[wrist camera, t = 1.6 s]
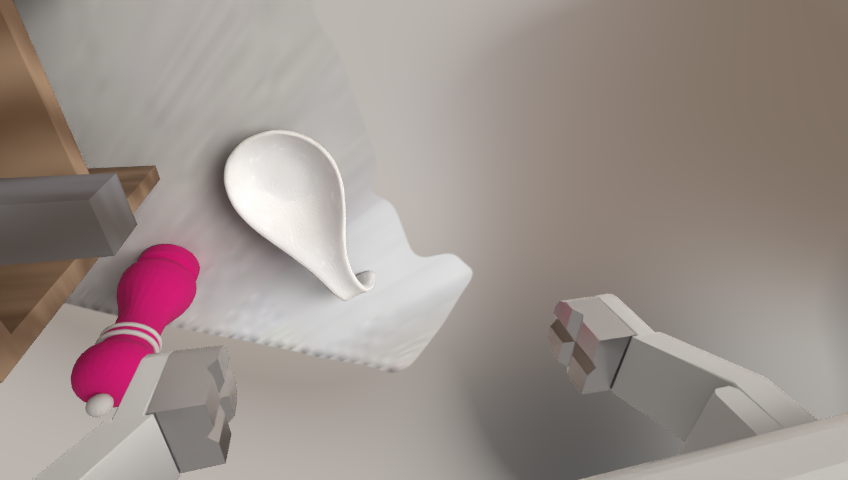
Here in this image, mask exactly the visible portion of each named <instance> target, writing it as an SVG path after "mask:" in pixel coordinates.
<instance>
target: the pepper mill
mask: <svg viewBox="0 0 848 480" xmlns="http://www.w3.org/2000/svg"><path fill="white" fill-rule="evenodd" d="M199 270H200V266H199V263H198V261H197V259H196V257H195V256H194V255H193V254H192V253H191V252H189V251H188V250H186V249H184V248H182V247H179V246H176V245H172V244H160V245H156V246H152V247H150V248H148V249H147V250H145V251H144V252H143V253H142V255H141V256H140V258H139V259H138V261H137V263H135V264H133V265H131V266H130V267H129V268H128V269H127V270H126V271H125V272H124V273H123V275H122V277H121V279H120V282H119V284H118V288H117V303H118V311H119V314H118V318H117V320H116V323H115V324H114V325H111V326H109V327H107V328H106V329H105V330H103V332H102V333H101V335H100V337H99V339H98V340H97V341H96V343H95V345H94V346H92V347H90V348H88V349H87V350H86V351H85V352H84V353H82V354H81V356H80V357H79V358H78V359H77V361H76V363H75V365H74V367H73V370H72V374H71V384H72V389H73V391H74V392H75V394H76V395H77V396H78V397H79V398H80V399H81V400H83V401H84V402H86V403H87V404H86V412H87V413H88V414H89V415H90V416H92V417H101V416H104V415H106V414H107V413H108V412H110V411H111V409H112V408H113V407H118V406H119V404H120V402H121V400H122V398H123V396H124V394H125V392H126V390H127V388H128V386H129V384H130V382H131V380H132V378H133V375H134V373H135V371H136V369H137V367H138V365H139V363H140V361H141V360H142V358H144V357H145V356H146V355H147V354H155V353H159V352H160V350H161V348H162V339H161V337H160V336H161V333H162V331H163V329H164V328H165V326H166V325H168V324H169V323H170V322H172V321H173V320H175V319H176V318H177V317H179V316H180V315H181V314H183V313H184V311H185V310H186V309H187V308H188V307H189V306H190V304H191V303H192V301H193V299H194V297H195V294H196V279H197V277H198V274H199Z"/></svg>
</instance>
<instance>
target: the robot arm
mask: <svg viewBox="0 0 848 480" xmlns="http://www.w3.org/2000/svg"><path fill="white" fill-rule="evenodd" d="M554 315H555V316H556V318H557V319H556V321H555V322H554V323H553V324H552V325H551V326H550V330H549V336H548V338H549V344H550V348H551V350H552V353H553V355H554V356H555V358H556V359H557V361H559V362H561V363H562V364H564V365H566V366H568V368H567V375H568V376H569V378H570V379H571V380H572V382H573V383H574V385H575V386H576V387H577V389H578V390H579V392H580V393H581V394H587V393H593V392H599V391H605V390H611V392H613V393H614V394H616V395H617V396H619V397H620V398H621V399H623V400H625V401H626V402H628V403H629V404H630V405H632V406H633V407H635V408H636V409H638V410H639V411H640V412H642V413H643V414H645V415H646V416H648V417H649V418H651V419H652V420H654V421H655V422H656V423H658V424H659V425H661V426H662V427H664V428H665V429H667V430H668V431H670V432H671V433H672V434H674V435H675V436H677V437H678V438H680V439H681V440H683V441H684V444H683V446H682V448H681V449H680V451H679V453H678V455H676V456H672V457H668V458H664V459H660V460H656V461H652V462H648V463H644V464H640V465H636V466H632V467H628V468H624V469H620V470H616V471H612V472H608V473H604V474H600V475H596V476H592V477H588V478H584V479H580V480H848V413H845V414H841V415H837V416H833V417H829V418H825V419H821V420H817V419H816V418H815V417H814V416H812V415H811V414H810V413H809V412H808V411H806V410H805V409H804V408H803V407H802V406H800V405H799V404H798V403H797V402H795V401H794V400H793V399H792V398H790V397H789V396H788V395H787V394H786V393H784V392H783V391H782V390H781V389H779V388H778V387H777V386H776V385H774V384H773V383H772V382H771V381H770V380H768V379H767V378H766V377H764V376H761V375H759V374H757V373H754V372H752V371H750V370H747V369H745V368H743V367H740V366H738V365H736V364H733V363H731V362H729V361H726V360H724V359H722V358H719V357H717V356H715V355H713V354H710V353H708V352H705V351H703V350H701V349H699V348H696V347H694V346H692V345H689V344H687V343H684V342H682V341H680V340H678V339H675V338H673V337H671V336H668V335H666V334H664V333H661V332H657V333H655V332H654V331H653V330H652V329H651V328H649V326H647V325H646V324H645V323H644V322H643V321H642V320H641V319H640V318H639V317H638V316H637V315H636V314H635V313H633V312H632V311H631V310H630V309H629V308H628V307H627V306H626V305H625V304H624V303H623V302H622V301H621V300H620V299H618V298H617V297H616V296H615V295H612V294H603V295H597V296H593V297H585V298H578V299H571V300H563V301H559V302H558V303H557V305H556V307H555V310H554ZM229 360H230V357H229V354H228V351H227V348H226V347H225V346H214V347H206V348H196V349H187V350H179V351H173V352H164V353H155V354H147V355H146V356H145V357H144V358H142V360H141V361H140V363H139V365H138V367H137V369H136V371H135V373H134V375H133V378H132V380H131V382H130V384H129V386H128V388H127V390H126V392H125V394H124V396H123V398H122V400H121V402H120V404H119V406H118V408H117V411H116V413H115V415H114V417H113V419H112V421H107V422H102V423H101V424H100V425H99V426H98V427H96V428H95V429H94V430H92V431H91V432H90V433H89V434H88V435H87V436H85V437H84V438H83V439H81V440H80V441H79V442H78V443H77V444H75V445H74V446H73V447H71V448H70V449H69V450H68V451H67V452H66V453H64V454H63V455H62V456H60V457H59V458H58V459H57V460H55V461H54V462H53V463H52V464H51V465H49V466H48V467H47V468H46V469H44V470H43V471H42V472H41V473H39V474H38V475H37V476H36V477H35V478H33V479H32V480H178V478H179V477H180V474H179V473H184V472H188V471H193V470H197V469H202V468H207V467H211V466H216V465H220V464H224V463H226V459H227V454H228V449H229V443H230V438H231V431H230V428H229V425H228V422H229V421H230V420H231V419H232V418H233V417H234V416H235V410H236V404H237V387H236V379H235V376H234V373H233V372H232V371H230V370H229V369H228V364H229Z"/></svg>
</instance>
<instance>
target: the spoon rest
mask: <svg viewBox="0 0 848 480" xmlns="http://www.w3.org/2000/svg"><path fill="white" fill-rule="evenodd" d="M224 185H225V189H226V193H227V196H228V198H229V200H230V202H231V204H232V206H233V207H234V209H235V210H236V212H237V213H238V214H239V216H240V217H241V218H242V219H243V220H244V221H245V222H246V223H247V224H248V225H249V226H250V227H252V228H253V229H254V230H255V231H256V232H258V233H259V234H260V235H261V236H263V237H264V238H265V239H267V240H268V241H270V242H271V243H272V244H274V245H275V246H276V247H278V248H279V249H281V250H282V251H284V252H285V253H286V254H288V255H289V256H291V257H292V258H293V259H295V260H296V261H297V262H299V263H300V264H301V265H303V266H304V267H305V268H306V269H308V270H309V271H310V272H311V273H312V274H314V275H315V276H316V277H317V278H318V279H319V280H320V281H321V282H322V283H323V284H324V285H325V286H326V287H327V288H328V289H329V290H330V291H331V292H332V293H334V294H335V295H336V296H337V297H338V298H340V299H341V300H343V301H348V300H350V299H351V298H353V297H355V296H357V295H359V294H361V293H365V292H368V291H370V290H371V289H372V287H373V286H374V283H375V273H374V272H373V271H367V272H363V273H361V274H359V275H357V276H355V275H354V273H353V271H352V269H351V266H350V264H349V260H348V257H347V251H346V207H345V194H344V187H343V182H342V178H341V175H340V172H339V169H338V167H337V165H336V163H335V161H334V159H333V158H332V156H331V155H330V154H329V153H328V151H327V150H326V149H325V148H324V147H323V146H321V145H320V144H319V143H317V142H316V141H315V140H313V139H311V138H310V137H308V136H306V135H303V134H301V133H298V132H294V131H289V130H280V129H276V130H269V131H264V132H260V133H257V134H255V135H252V136H250V137H248V138H246V139H245V140H243V141H242V142H241V143H240V144H238V145H237V146H236V147H235V149H234V150H233V151H232V152H231V154H230V155H229V157H228V159H227V161H226V164H225V167H224Z"/></svg>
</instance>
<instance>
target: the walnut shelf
mask: <svg viewBox="0 0 848 480" xmlns="http://www.w3.org/2000/svg"><path fill="white" fill-rule="evenodd" d="M103 173H117V176H118V178H119V181H120V183H121V186H122V188H123V191H124V193H125V196H126V198H127V201H128V203H129V206H130V208H131V210H132V213H134V212H135V211H136V209H137V208H138V207H139V205H140V204H141V203H142V202H143V200H144V199H145V198H146V196H147V195H148V194H149V193H150V191H151V190H152V189H153V187H154V186H155V185H156V184H157V182H158V181H159V180H160V178H159V175H158V172H157V169H156V166H137V167H115V168H92V169H87V167H86V165H85V163H84V160H83V158H82V156H81V154H80V151H79V149H78V147H77V144H76V142H75V140H74V138H73V135H72V133H71V131H70V129H69V126H68V124H67V122H66V120H65V117H64V115H63V113H62V111H61V108H60V106H59V104H58V101H57V99H56V97H55V95H54V92H53V90H52V88H51V86H50V83H49V81H48V79H47V77H46V74H45V72H44V70H43V68H42V65H41V63H40V61H39V59H38V56H37V54H36V52H35V49H34V47H33V45H32V43H31V40H30V38H29V36H28V34H27V31H26V29H25V27H24V25H23V22H22V20H21V18H20V16H19V13H18V11H17V9H16V6H15V4H14V2H13V0H0V178H17V177H39V176H60V175H81V174H103ZM98 258H99V257H95V258H84V259H72V260H60V261H48V262H36V263H25V264H13V265H1V266H0V383H2V382H3V381H4V379H5V378H6V377H7V376H8V374H9V373H10V372H11V370H12V369H13V368H14V367H15V365H16V364H17V363H18V361H19V360H20V359H21V358H22V356H23V355H24V354H25V352H26V351H27V350H28V349H29V347H30V346H31V345H32V343H33V342H34V341H35V340H36V338H37V337H38V336H39V334H40V333H41V332H42V330H43V329H44V328H45V327H46V325H47V324H48V323H49V321H50V320H51V319H52V318H53V316H54V315H55V314H56V312H57V311H58V310H59V309H60V307H61V306H62V305H63V303H64V302H65V301H66V300H67V298H68V297H69V296H70V294H71V293H72V292H73V291H74V289H75V288H76V287H77V285H78V284H79V283H80V282H81V280H82V279H83V278H84V276H85V275H86V274H87V272H88V271H89V270H90V269H91V267H92V266H93V265H94V263H95V262H96V261H97V260H98Z"/></svg>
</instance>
